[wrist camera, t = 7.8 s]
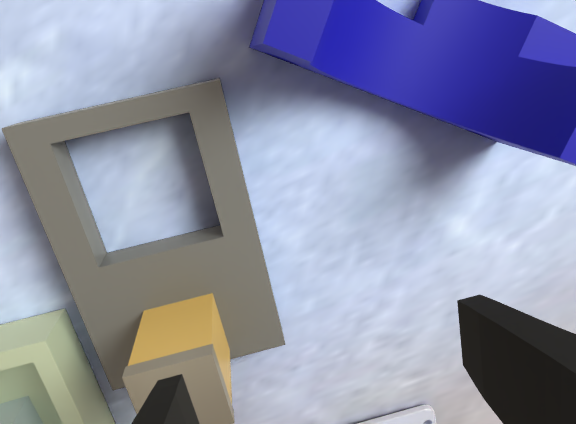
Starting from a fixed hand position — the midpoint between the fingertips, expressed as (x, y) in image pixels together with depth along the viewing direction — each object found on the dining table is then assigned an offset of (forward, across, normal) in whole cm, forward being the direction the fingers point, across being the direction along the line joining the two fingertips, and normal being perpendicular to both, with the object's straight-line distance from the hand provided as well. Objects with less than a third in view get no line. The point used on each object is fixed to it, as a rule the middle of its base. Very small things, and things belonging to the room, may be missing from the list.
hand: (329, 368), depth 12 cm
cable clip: (+10, -7, -7) cm, 14 cm away
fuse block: (+10, +5, -1) cm, 11 cm away
